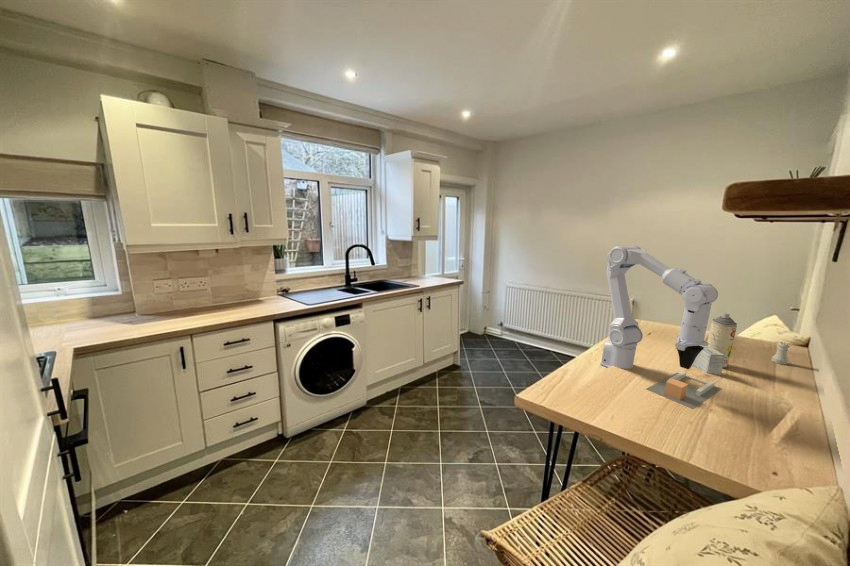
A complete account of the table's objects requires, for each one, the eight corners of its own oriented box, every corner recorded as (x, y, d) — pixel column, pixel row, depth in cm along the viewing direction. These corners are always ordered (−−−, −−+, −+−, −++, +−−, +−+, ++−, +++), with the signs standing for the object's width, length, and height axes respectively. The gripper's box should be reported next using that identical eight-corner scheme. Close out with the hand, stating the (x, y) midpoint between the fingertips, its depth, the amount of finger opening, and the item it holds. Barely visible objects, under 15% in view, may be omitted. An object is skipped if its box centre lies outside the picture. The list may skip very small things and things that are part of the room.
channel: (644, 393, 98) (646, 384, 98) (676, 376, 110) (677, 368, 109) (691, 413, 88) (694, 404, 88) (721, 392, 100) (723, 384, 99)
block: (663, 393, 96) (666, 381, 95) (669, 390, 98) (672, 378, 97) (679, 400, 92) (682, 387, 91) (685, 396, 94) (688, 384, 93)
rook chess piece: (775, 363, 122) (780, 344, 120) (768, 359, 126) (773, 340, 124) (790, 365, 120) (796, 346, 118) (783, 361, 124) (788, 342, 122)
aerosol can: (727, 370, 115) (740, 317, 111) (702, 364, 120) (714, 313, 115) (726, 364, 120) (738, 313, 116) (703, 358, 125) (713, 309, 121)
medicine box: (720, 378, 109) (726, 355, 107) (705, 377, 110) (710, 354, 108) (705, 368, 116) (710, 346, 115) (691, 367, 117) (696, 345, 115)
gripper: (701, 333, 86) (691, 379, 88) (720, 324, 93) (710, 367, 96) (670, 325, 91) (662, 368, 94) (691, 318, 99) (682, 358, 102)
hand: (684, 367), depth 95 cm, fingers closed
